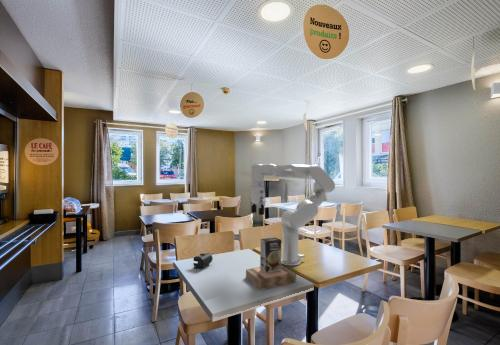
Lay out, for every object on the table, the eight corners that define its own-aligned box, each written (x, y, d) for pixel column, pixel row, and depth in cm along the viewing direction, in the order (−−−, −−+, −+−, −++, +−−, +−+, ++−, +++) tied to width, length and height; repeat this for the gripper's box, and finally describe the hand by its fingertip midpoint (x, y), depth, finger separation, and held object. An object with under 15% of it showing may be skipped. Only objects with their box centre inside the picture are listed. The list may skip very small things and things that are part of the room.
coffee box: (265, 274, 123) (265, 241, 123) (259, 270, 129) (259, 238, 129) (281, 271, 127) (281, 239, 127) (275, 267, 132) (275, 236, 133)
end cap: (203, 270, 140) (203, 258, 140) (192, 268, 143) (193, 256, 143) (212, 264, 149) (212, 253, 149) (202, 263, 152) (202, 251, 152)
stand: (278, 271, 139) (278, 263, 139) (296, 281, 124) (296, 273, 125) (246, 277, 130) (246, 268, 130) (260, 289, 116) (260, 280, 116)
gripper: (270, 185, 144) (270, 215, 143) (256, 184, 159) (256, 211, 159) (258, 185, 140) (258, 216, 140) (245, 184, 156) (245, 212, 156)
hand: (257, 213), depth 149 cm, fingers open, 9 cm apart
